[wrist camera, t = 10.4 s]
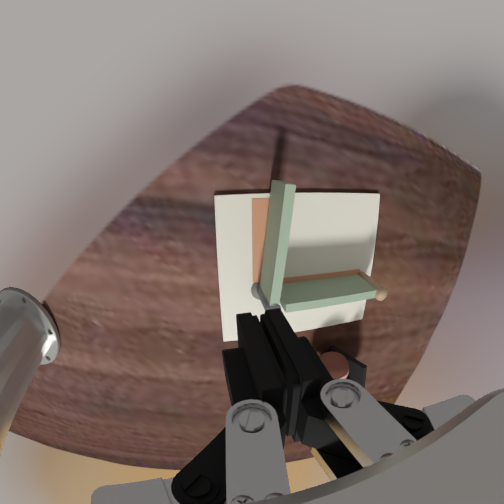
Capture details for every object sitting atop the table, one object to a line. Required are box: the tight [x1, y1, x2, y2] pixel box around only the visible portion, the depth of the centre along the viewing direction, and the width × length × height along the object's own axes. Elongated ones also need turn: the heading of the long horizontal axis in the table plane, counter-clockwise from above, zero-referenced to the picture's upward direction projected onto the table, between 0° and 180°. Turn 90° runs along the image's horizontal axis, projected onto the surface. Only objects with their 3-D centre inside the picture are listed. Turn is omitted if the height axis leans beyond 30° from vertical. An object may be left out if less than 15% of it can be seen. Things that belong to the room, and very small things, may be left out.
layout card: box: [214, 192, 380, 341], centre depth 32 cm, size 20×18×1 cm
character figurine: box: [319, 346, 367, 388], centre depth 37 cm, size 8×7×15 cm
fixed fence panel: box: [280, 271, 387, 313], centre depth 31 cm, size 13×2×5 cm, turn 91°
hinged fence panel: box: [257, 180, 296, 310], centre depth 28 cm, size 13×2×4 cm, turn 174°
